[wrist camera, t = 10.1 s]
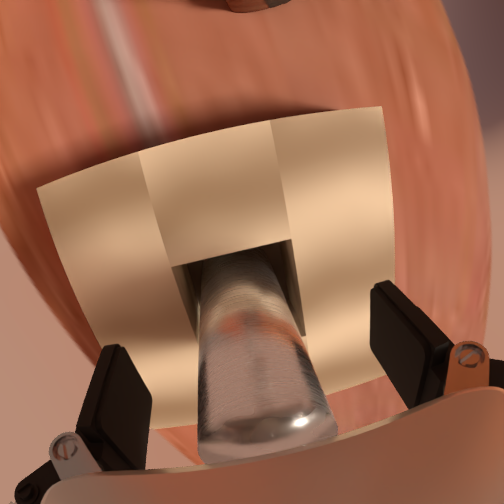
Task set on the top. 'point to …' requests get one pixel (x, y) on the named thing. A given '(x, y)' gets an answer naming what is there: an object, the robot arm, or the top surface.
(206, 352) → the pin
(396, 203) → the top surface
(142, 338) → the bore block
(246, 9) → the pottery mug
